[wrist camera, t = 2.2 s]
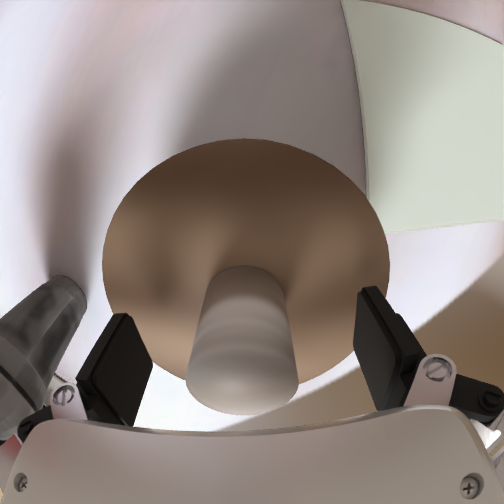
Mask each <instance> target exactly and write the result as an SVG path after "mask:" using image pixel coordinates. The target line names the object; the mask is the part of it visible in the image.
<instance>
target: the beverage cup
mask: <svg viewBox="0 0 504 504" xmlns="http://www.w3.org/2000/svg"><path fill="white" fill-rule="evenodd" d="M86 309H87V302H86V299H85V296H84V294H83V292H82V290H81V289H80V288H79V286H78V285H77V284H76V283H75V282H73V281H72V280H71V279H69V278H67V277H65V276H55V277H53V278H52V279H51V280H50V281H48V282H46V283H44V284H42V285H41V286H40V287H39V288H37V289H36V290H35V291H33V292H32V293H31V294H30V295H28V296H27V297H26V298H25V299H23V300H22V301H21V302H20V303H18V304H17V305H16V306H15V307H14V308H12V309H11V310H10V311H9V312H8V313H7V314H5V315H4V316H3V317H2V318H1V319H0V440H8V439H9V438H10V437H11V436H12V435H14V434H16V435H18V434H17V429H18V426H19V424H20V422H21V421H22V420H23V419H24V418H26V417H28V416H30V415H32V414H33V413H35V412H37V411H39V410H41V409H42V408H43V404H44V401H45V397H46V391H47V388H48V386H49V384H50V382H51V379H52V377H53V375H54V373H55V371H56V369H57V367H58V365H59V363H60V361H61V359H62V357H63V355H64V353H65V351H66V349H67V347H68V345H69V343H70V341H71V339H72V337H73V335H74V334H75V332H76V330H77V328H78V326H79V324H80V321H81V319H82V317H83V315H84V314H85V312H86Z"/></svg>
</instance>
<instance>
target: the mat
mask: <svg viewBox="0 0 504 504" xmlns="http://www.w3.org/2000/svg"><path fill="white" fill-rule="evenodd" d="M341 4H342V8H343V12H344V16H345V20H346V24H347V29H348V33H349V38H350V43H351V48H352V53H353V59H354V64H355V70H356V77H357V83H358V90H359V98H360V106H361V115H362V125H363V136H364V149H365V166H366V198H367V199H368V201H369V202H370V204H371V205H372V207H373V209H374V210H375V212H376V214H377V216H378V218H379V220H380V223H381V225H382V227H383V230H384V233H385V235H386V234H394V233H402V232H410V231H418V230H427V229H435V228H443V227H451V226H459V225H468V224H476V223H484V222H492V221H501V220H504V46H503V45H502V44H500V43H498V42H496V41H494V40H492V39H489V38H487V37H485V36H483V35H481V34H479V33H476V32H474V31H472V30H469V29H467V28H464V27H462V26H459V25H456V24H454V23H451V22H448V21H445V20H442V19H439V18H436V17H433V16H430V15H426V14H423V13H419V12H416V11H412V10H408V9H404V8H399V7H395V6H390V5H385V4H380V3H374V2H368V1H361V0H341Z"/></svg>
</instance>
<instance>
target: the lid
mask: <svg viewBox="0 0 504 504" xmlns="http://www.w3.org/2000/svg"><path fill="white" fill-rule="evenodd" d="M102 270H103V282H104V286H105V291H106V295H107V299H108V301H109V304H110V307H111V309H112V312H113V314H115V313H128V314H129V316H131V317H132V318H133V320H134V322H135V324H136V327H137V329H138V331H139V333H140V336H141V338H142V340H143V342H144V344H145V347H146V349H147V351H148V353H149V355H150V357H151V359H152V361H153V362H154V363H155V364H157V365H158V366H160V367H161V368H163V369H164V370H166V371H168V372H169V373H171V374H173V375H175V376H177V377H179V378H181V379H183V380H186V385H187V388H188V390H189V391H190V393H191V394H192V396H193V397H194V398H195V399H196V400H198V401H199V402H200V403H202V404H203V405H205V406H207V407H209V408H211V409H213V410H216V411H219V412H222V413H227V414H233V415H256V414H262V413H266V412H269V411H272V410H275V409H277V408H279V407H281V406H282V405H284V404H285V403H287V402H288V401H289V400H290V399H291V398H292V397H293V396H294V395H295V393H296V391H297V389H298V385H299V384H301V383H304V382H306V381H308V380H311V379H313V378H315V377H317V376H319V375H321V374H323V373H325V372H326V371H328V370H330V369H331V368H333V367H334V366H336V365H337V364H338V363H340V362H341V361H342V360H344V359H345V358H346V357H347V356H348V355H349V354H351V353H352V352H353V351H354V348H353V336H354V327H355V316H356V305H357V294H358V292H360V291H361V290H362V288H363V287H369V286H374V285H375V286H377V287H378V289H379V290H380V291H381V293H382V294H383V296H384V297H386V294H387V288H388V283H389V271H390V260H389V251H388V245H387V241H386V237H385V233H384V230H383V227H382V225H381V223H380V220H379V218H378V216H377V214H376V212H375V210H374V209H373V207H372V205H371V204H370V202H369V201H368V199H367V198H366V196H365V195H364V194H363V193H362V192H361V190H360V189H359V188H358V187H357V186H356V185H355V184H354V183H353V182H352V181H351V180H350V179H349V178H348V177H347V176H345V175H344V174H343V173H342V172H340V171H339V170H338V169H337V168H335V167H334V166H333V165H331V164H329V163H328V162H326V161H324V160H322V159H321V158H319V157H317V156H315V155H313V154H311V153H308V152H306V151H303V150H301V149H298V148H295V147H293V146H290V145H287V144H282V143H278V142H273V141H268V140H259V139H231V140H221V141H216V142H212V143H208V144H204V145H200V146H196V147H193V148H191V149H188V150H186V151H184V152H181V153H179V154H176V155H174V156H172V157H170V158H169V159H167V160H165V161H164V162H162V163H160V164H159V165H157V166H156V167H154V168H153V169H152V170H150V171H149V172H148V173H147V174H146V175H144V176H143V177H142V178H141V179H140V180H139V181H138V182H137V183H136V184H135V185H134V186H133V187H132V188H131V190H130V191H129V192H128V193H127V194H126V196H125V197H124V198H123V200H122V202H121V203H120V205H119V206H118V208H117V210H116V211H115V213H114V215H113V218H112V220H111V223H110V225H109V228H108V230H107V234H106V238H105V243H104V247H103V259H102Z"/></svg>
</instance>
